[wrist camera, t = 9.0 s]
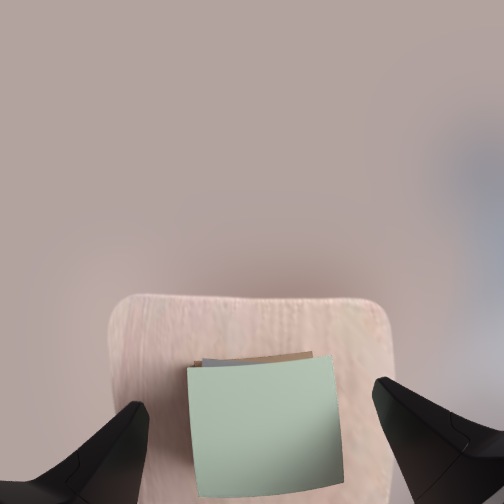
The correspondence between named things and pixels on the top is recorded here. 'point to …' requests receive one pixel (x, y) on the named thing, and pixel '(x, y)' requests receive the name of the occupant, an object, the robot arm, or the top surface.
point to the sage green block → (265, 428)
